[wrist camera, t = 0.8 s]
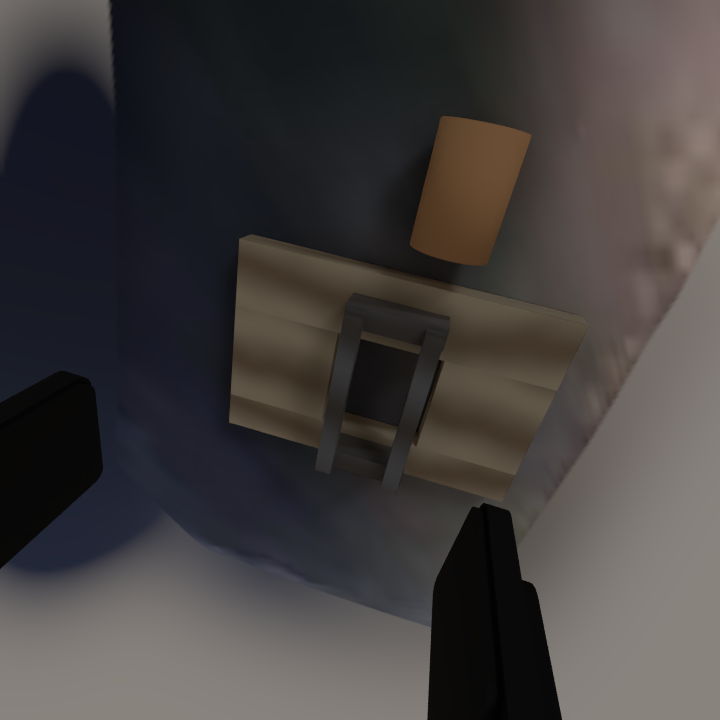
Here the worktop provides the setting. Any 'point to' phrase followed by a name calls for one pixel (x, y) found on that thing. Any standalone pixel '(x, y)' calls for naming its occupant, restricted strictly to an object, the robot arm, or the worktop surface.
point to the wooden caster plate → (402, 331)
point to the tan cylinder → (467, 189)
